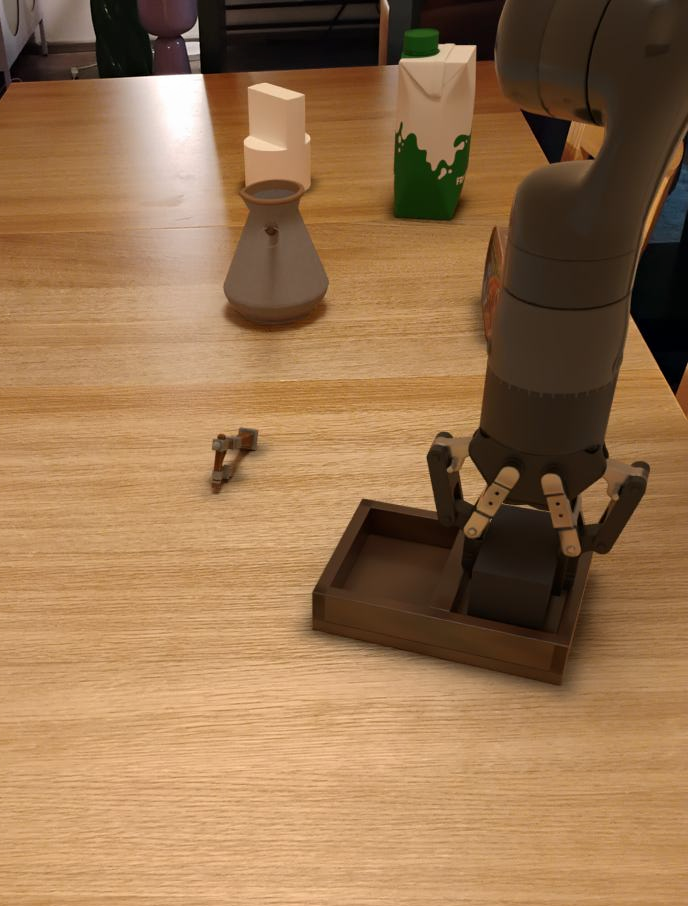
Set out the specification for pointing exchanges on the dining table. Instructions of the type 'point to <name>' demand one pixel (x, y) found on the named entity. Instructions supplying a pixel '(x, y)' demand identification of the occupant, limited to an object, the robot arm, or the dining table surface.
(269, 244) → the coffee pot
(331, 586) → the divided wooden tray
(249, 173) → the cylinder with rectangular tab
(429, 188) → the milk carton
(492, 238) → the tin
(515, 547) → the dark brown rectangular block
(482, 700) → the dining table surface
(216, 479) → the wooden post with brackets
